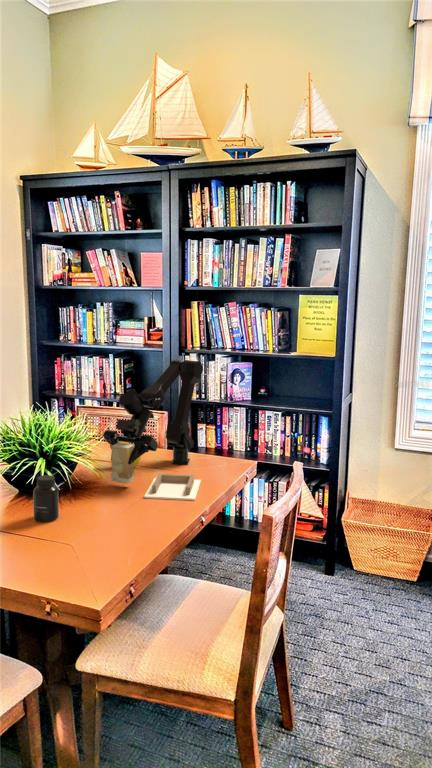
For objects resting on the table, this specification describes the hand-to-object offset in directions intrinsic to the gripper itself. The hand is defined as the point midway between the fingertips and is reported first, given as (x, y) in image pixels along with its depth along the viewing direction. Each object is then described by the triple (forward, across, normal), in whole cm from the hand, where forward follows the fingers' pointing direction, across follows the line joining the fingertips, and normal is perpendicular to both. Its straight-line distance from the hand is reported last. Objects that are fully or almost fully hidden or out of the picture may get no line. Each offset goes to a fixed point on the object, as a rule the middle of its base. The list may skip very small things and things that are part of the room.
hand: (120, 462), depth 181 cm
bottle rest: (+1, +16, +11) cm, 19 cm away
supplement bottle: (+28, -5, -15) cm, 32 cm away
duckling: (-7, -11, +20) cm, 24 cm away
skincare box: (+4, 0, +6) cm, 7 cm away
